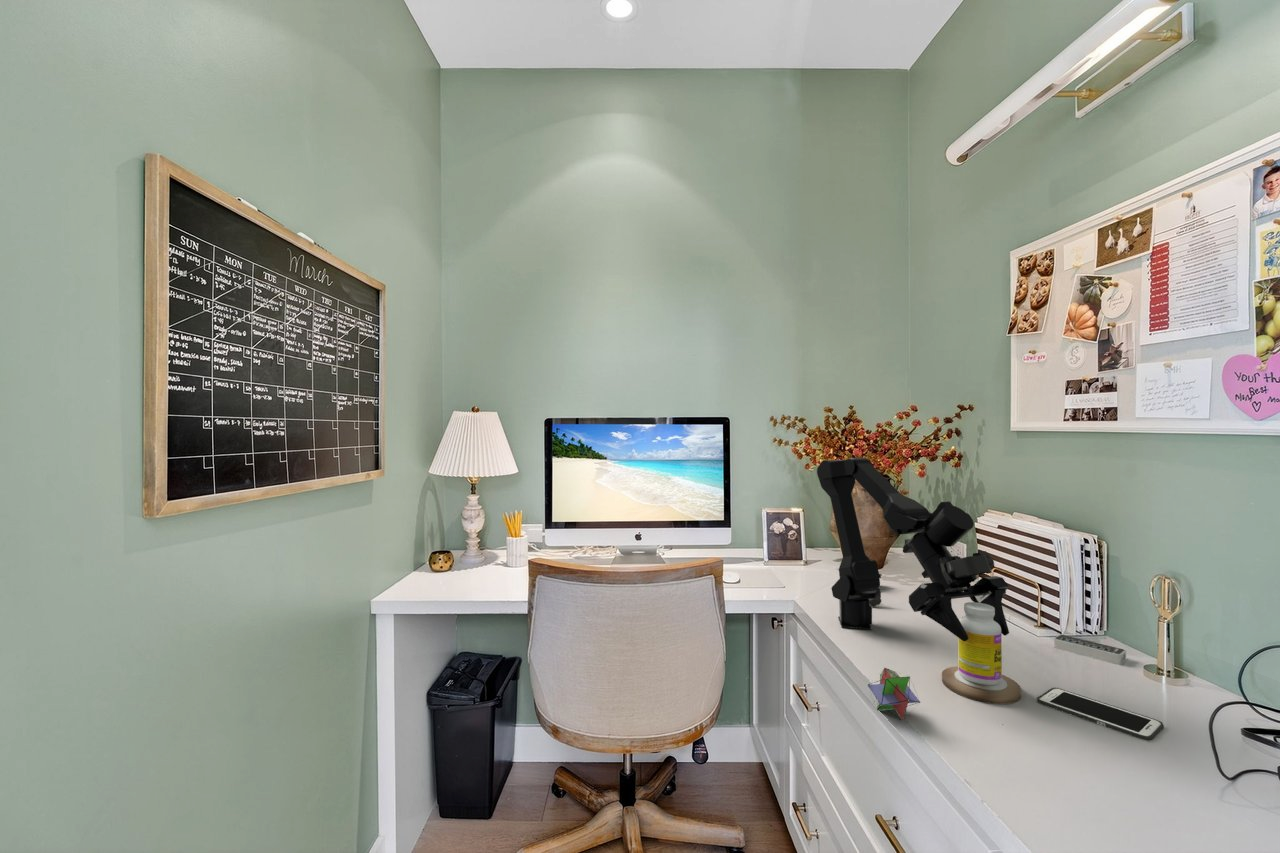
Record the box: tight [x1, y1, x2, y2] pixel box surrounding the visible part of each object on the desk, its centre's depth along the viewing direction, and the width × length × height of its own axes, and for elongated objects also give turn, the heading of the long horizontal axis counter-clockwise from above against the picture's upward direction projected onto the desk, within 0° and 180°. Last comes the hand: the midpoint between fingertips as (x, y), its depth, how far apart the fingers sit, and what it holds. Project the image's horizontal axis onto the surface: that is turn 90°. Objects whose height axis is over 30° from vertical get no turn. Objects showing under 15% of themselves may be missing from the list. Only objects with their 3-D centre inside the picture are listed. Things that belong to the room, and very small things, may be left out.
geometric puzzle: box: [866, 667, 921, 722], centre depth 90 cm, size 7×7×8 cm
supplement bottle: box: [957, 601, 1003, 685], centre depth 99 cm, size 7×7×13 cm
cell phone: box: [1036, 687, 1165, 742], centre depth 90 cm, size 8×15×1 cm, turn 34°
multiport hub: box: [1053, 634, 1127, 666], centre depth 114 cm, size 4×11×2 cm, turn 37°
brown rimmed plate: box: [941, 665, 1022, 705], centre depth 99 cm, size 12×12×2 cm
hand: (987, 637), depth 98 cm, fingers open, 9 cm apart
